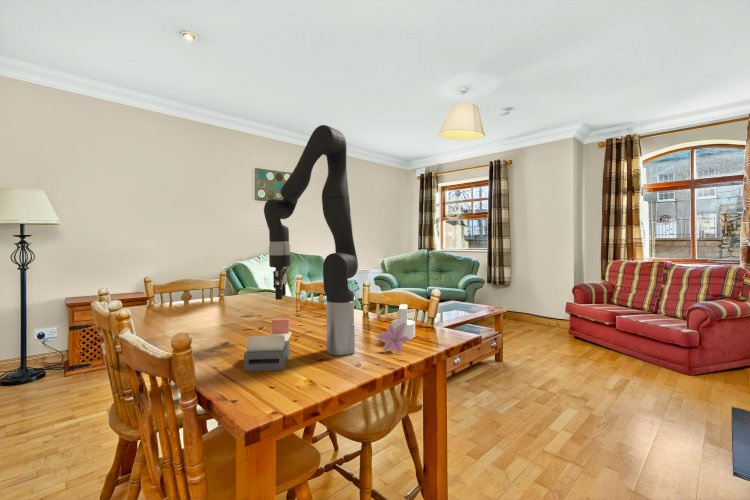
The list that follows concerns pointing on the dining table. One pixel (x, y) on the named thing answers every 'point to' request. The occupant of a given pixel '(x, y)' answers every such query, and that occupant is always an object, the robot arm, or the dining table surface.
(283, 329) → the pink-tipped cream block
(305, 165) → the robot arm
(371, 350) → the dining table surface
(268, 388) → the dining table surface
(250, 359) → the dispenser
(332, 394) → the dining table surface
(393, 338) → the lily
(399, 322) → the base with upright slab
